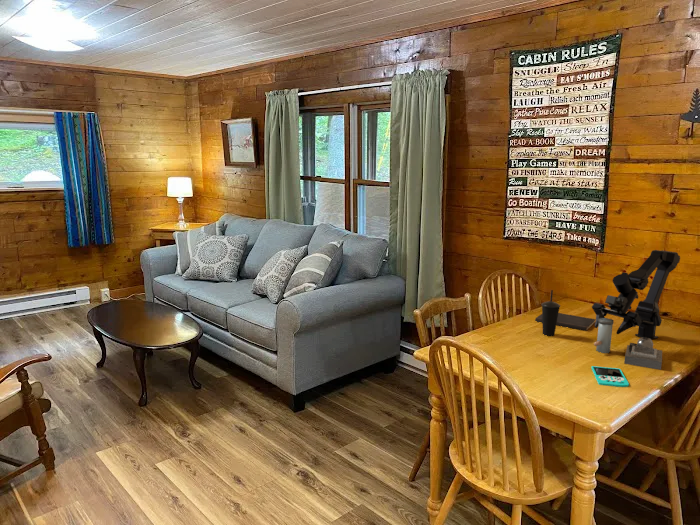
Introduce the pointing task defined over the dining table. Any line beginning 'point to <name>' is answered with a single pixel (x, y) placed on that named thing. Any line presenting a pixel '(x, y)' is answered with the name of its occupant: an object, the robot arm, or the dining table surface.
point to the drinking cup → (549, 316)
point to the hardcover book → (571, 321)
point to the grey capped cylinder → (604, 335)
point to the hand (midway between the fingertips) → (606, 330)
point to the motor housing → (643, 354)
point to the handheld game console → (610, 376)
